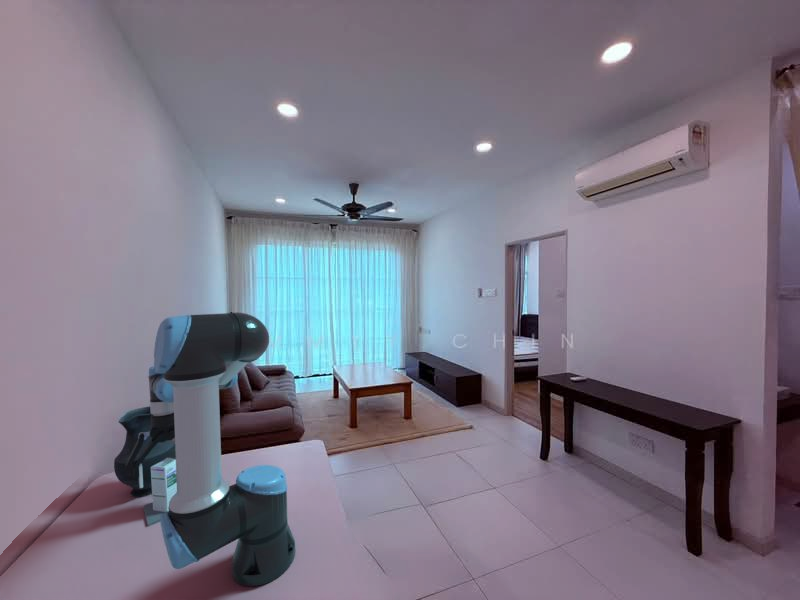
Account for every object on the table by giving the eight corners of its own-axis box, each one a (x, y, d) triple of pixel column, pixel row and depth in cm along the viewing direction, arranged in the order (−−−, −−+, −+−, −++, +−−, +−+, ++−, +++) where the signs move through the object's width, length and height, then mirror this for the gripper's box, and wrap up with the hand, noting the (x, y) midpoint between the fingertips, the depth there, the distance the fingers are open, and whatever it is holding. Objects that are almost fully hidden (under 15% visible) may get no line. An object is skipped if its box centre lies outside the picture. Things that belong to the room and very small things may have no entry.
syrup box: (167, 512, 100) (165, 467, 99) (152, 510, 101) (150, 466, 100) (183, 501, 105) (181, 458, 105) (168, 499, 106) (166, 456, 106)
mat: (194, 506, 103) (194, 504, 103) (147, 526, 95) (147, 524, 95) (186, 490, 112) (186, 489, 112) (143, 507, 103) (143, 505, 103)
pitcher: (102, 501, 107) (98, 414, 106) (159, 468, 127) (156, 394, 126) (145, 506, 104) (141, 416, 103) (196, 471, 124) (193, 396, 123)
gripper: (206, 399, 114) (208, 458, 114) (112, 420, 96) (116, 489, 96) (211, 404, 109) (214, 465, 109) (114, 426, 91) (117, 499, 91)
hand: (168, 476), depth 103 cm, fingers open, 13 cm apart
